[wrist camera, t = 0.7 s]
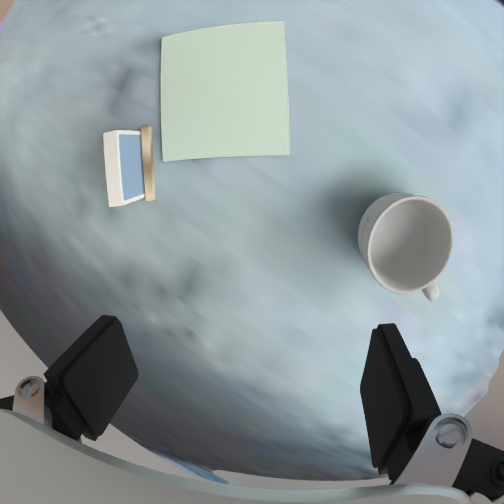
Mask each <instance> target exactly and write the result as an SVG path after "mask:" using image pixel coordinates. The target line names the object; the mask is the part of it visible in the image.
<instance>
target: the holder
mask: <svg viewBox="0 0 504 504" xmlns="http://www.w3.org/2000/svg"><path fill="white" fill-rule="evenodd" d="M128 131H129V130H128ZM141 139H142V158H143V172H144V185H145V195H146V201H153V200H156V196H155V184H154V171H153V156H152V136H151V126H144V127H141Z"/></svg>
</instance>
